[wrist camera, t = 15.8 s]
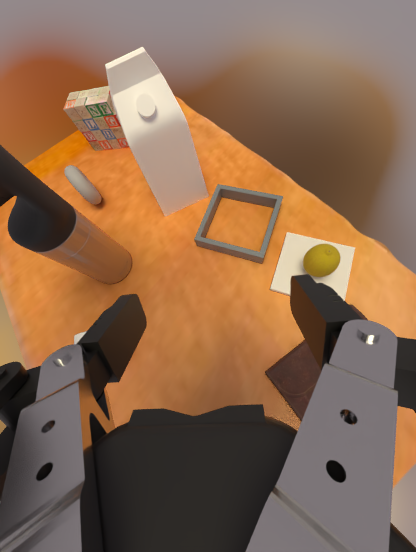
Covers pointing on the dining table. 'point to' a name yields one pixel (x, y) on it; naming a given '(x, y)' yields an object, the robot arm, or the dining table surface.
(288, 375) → the notebook
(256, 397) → the dining table surface
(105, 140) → the stack of blocks
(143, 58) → the milk
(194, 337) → the dining table surface
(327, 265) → the lemon
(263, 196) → the grey square frame
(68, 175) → the donut
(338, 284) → the board
